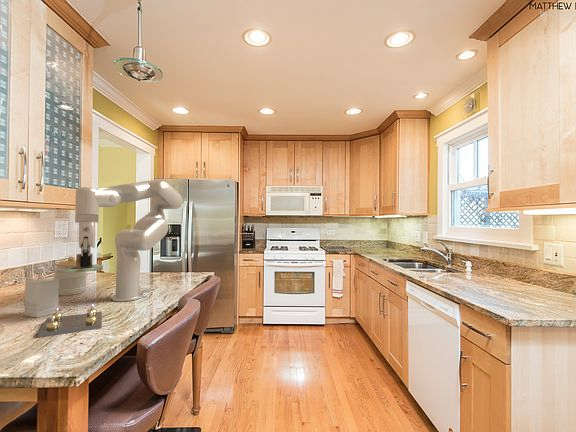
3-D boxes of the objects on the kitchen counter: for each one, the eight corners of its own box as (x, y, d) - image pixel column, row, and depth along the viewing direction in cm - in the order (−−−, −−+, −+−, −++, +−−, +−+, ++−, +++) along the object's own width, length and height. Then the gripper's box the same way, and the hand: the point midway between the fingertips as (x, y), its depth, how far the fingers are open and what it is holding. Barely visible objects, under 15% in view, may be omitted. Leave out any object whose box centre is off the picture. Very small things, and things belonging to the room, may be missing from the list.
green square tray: (102, 265, 121) (102, 252, 121) (102, 270, 111) (103, 255, 111) (66, 268, 114) (67, 253, 114) (63, 273, 104) (63, 257, 104)
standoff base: (101, 314, 108) (102, 301, 109) (101, 327, 95) (102, 312, 95) (46, 321, 100) (47, 307, 100) (38, 337, 86) (38, 320, 86)
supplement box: (58, 312, 110) (60, 279, 111) (36, 318, 103) (37, 282, 104) (45, 310, 113) (47, 277, 113) (23, 315, 106) (24, 281, 106)
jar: (92, 291, 144) (93, 256, 145) (62, 297, 132) (64, 258, 133) (76, 288, 149) (77, 254, 150) (46, 294, 138) (48, 256, 138)
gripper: (98, 219, 108) (96, 268, 108) (98, 219, 122) (97, 262, 122) (73, 219, 104) (71, 269, 103) (76, 218, 118) (75, 263, 118)
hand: (85, 265), depth 113 cm, fingers closed on green square tray, 5 cm apart
